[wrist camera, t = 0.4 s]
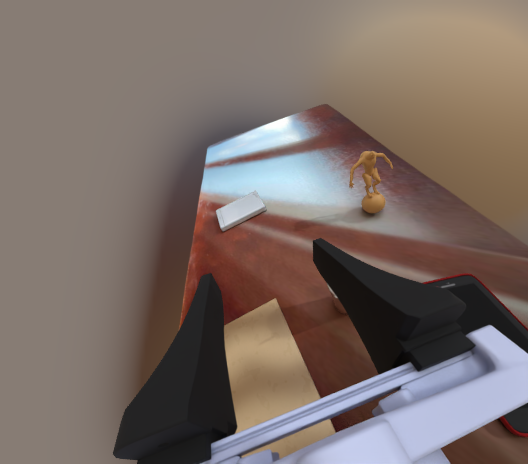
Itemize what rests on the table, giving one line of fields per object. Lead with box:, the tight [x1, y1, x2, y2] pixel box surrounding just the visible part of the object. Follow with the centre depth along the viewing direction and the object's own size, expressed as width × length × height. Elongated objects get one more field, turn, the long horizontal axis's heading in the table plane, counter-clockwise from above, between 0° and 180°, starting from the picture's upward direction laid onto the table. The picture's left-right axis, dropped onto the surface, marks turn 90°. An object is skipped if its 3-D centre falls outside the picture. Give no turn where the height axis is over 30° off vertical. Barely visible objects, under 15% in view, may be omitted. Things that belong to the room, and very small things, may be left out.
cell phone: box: [423, 274, 528, 437], centre depth 21 cm, size 8×15×1 cm, turn 8°
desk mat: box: [224, 298, 336, 459], centre depth 25 cm, size 20×12×1 cm, turn 22°
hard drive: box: [216, 191, 267, 231], centre depth 49 cm, size 2×8×12 cm
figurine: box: [350, 151, 393, 213], centre depth 34 cm, size 8×6×12 cm
